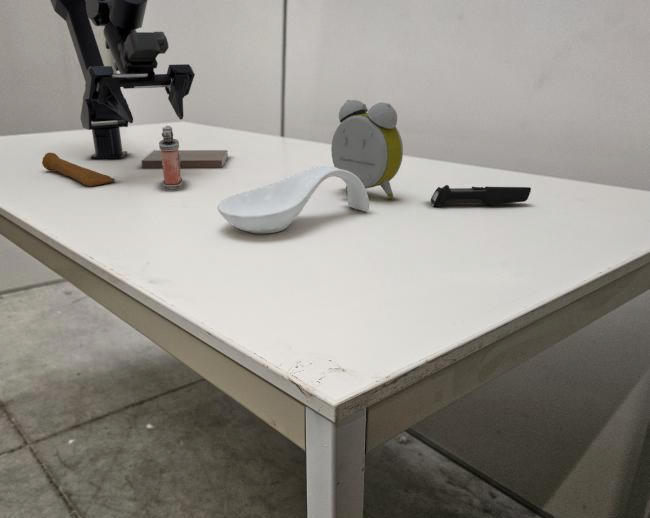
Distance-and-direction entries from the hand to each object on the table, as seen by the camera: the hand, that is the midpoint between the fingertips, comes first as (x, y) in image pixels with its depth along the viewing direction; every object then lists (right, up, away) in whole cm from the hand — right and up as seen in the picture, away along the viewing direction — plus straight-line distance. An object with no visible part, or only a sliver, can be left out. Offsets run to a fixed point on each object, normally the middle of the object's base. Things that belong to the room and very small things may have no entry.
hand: (157, 119), depth 108 cm
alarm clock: (+36, -15, -5) cm, 39 cm away
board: (0, -2, +21) cm, 21 cm away
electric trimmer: (+54, -17, -10) cm, 58 cm away
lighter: (+2, -11, +2) cm, 12 cm away
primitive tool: (-17, -9, +8) cm, 20 cm away
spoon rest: (+25, -21, -19) cm, 38 cm away
